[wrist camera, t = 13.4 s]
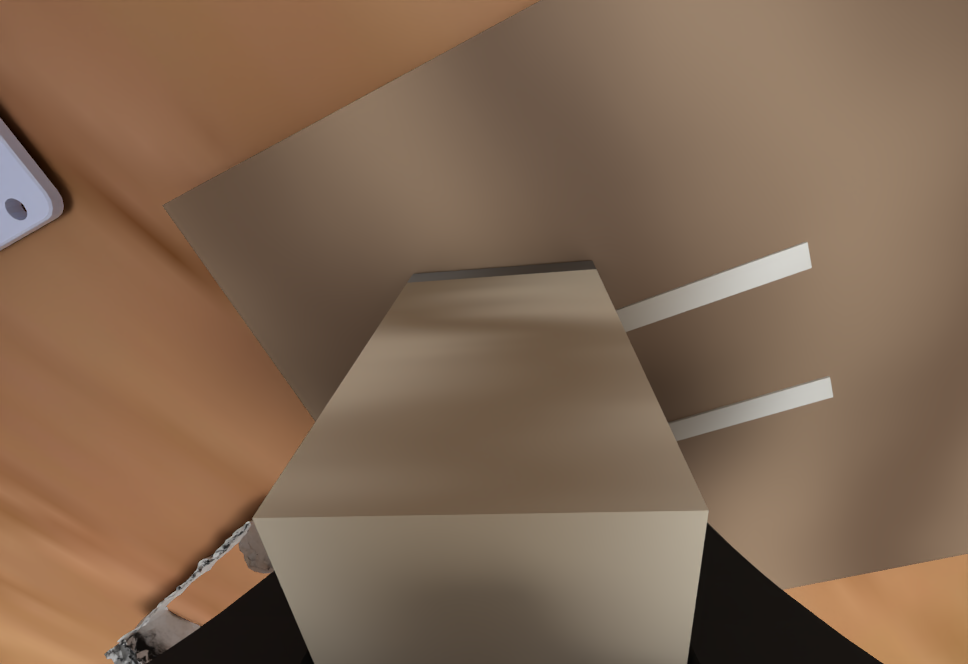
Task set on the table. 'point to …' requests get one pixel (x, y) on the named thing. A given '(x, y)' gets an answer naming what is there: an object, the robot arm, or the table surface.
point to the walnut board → (670, 241)
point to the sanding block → (491, 487)
